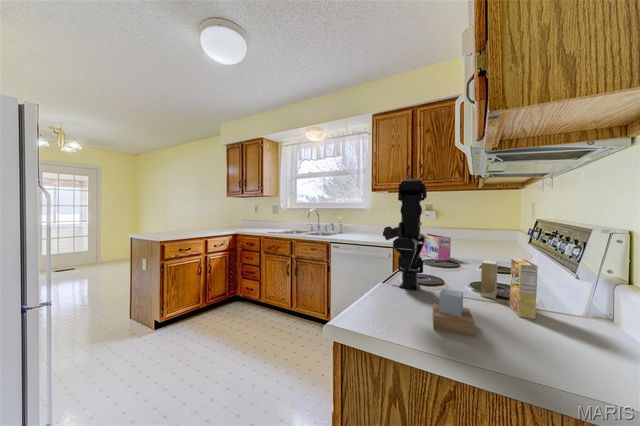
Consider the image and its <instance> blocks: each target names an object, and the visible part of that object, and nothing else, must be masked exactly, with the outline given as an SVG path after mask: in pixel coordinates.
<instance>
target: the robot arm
mask: <svg viewBox="0 0 640 426" xmlns="http://www.w3.org/2000/svg"><path fill="white" fill-rule="evenodd" d="M425 184H426V183H425V182H423V180H422V179H418V178H405V179H402V180H400V183H398V192H397V193H398V194H397V195H398V196H397V197H398V198H397V200H398V201H400V202H401V206H400V215H401V221H400V222H399V223H398V226H395V227H393V228H392V227H391V226H385V227H384V228H383V231H382V237H384V240H385V241H389V240H392V239H394V240H393V241H392V248H394V251H396V252H398V254H400V255H398V266H397V267H398V268H397V269H398V272H399V273H400V272H401V283H400V284H399V288H401V289H408V290H413V291H417V290H418V289H419V288H420V284H419V283H418V274H423V273H424V260H423V257H421V254H420V253H421V250H422V248H423V246H424V243H425V242H426V237H425V236H424V235H425V234H423V233H421V226H422V221H421V216H422V213H423V208H422V205H421V202H422V201H425V199H427V195H428V194H427V186H426V185H425ZM420 242H422V243H420Z"/></svg>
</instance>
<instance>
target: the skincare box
mask: <svg viewBox="0 0 640 426" xmlns="http://www.w3.org/2000/svg"><path fill="white" fill-rule="evenodd" d="M480 270H481V273H480V274H481V275H480V276H481V278H480V279H481V280H480V297H483V298H489V299H494V300H496V297H497V287H498V286H497V285H498V260H489V259H482V261H481V269H480Z"/></svg>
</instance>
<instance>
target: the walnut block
mask: <svg viewBox="0 0 640 426" xmlns="http://www.w3.org/2000/svg"><path fill="white" fill-rule="evenodd" d="M432 325H433V326H432V327H433V331H439V332H442V333H443V332H445V333H450V334H454V335H456V334H457V335H460V336H466V337H472V338H475V327H476V326H475V325H476V323H475V319H474V318H473V315H472V313H471V311H470V308H468V307H463V312H462V315H461V317H457V316H453V315H448V314H444V313H439V303H434V302H433V303H432Z"/></svg>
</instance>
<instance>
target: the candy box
mask: <svg viewBox="0 0 640 426" xmlns="http://www.w3.org/2000/svg"><path fill="white" fill-rule="evenodd" d="M510 261H511V263H510V288H509V307H510V308H511V310H513V311H514V313H515V314H516V315H517V317H519V318H526V319H531V320H533V319H534V320H536V311H537V310H536V309H537V289H538V288H537V287H538V268H539V267H538V265H537V264H536V263H535V264H534V263H532V262H531V261H528V260H527V259H522V258H521V259H520V258H511V259H510Z"/></svg>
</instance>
